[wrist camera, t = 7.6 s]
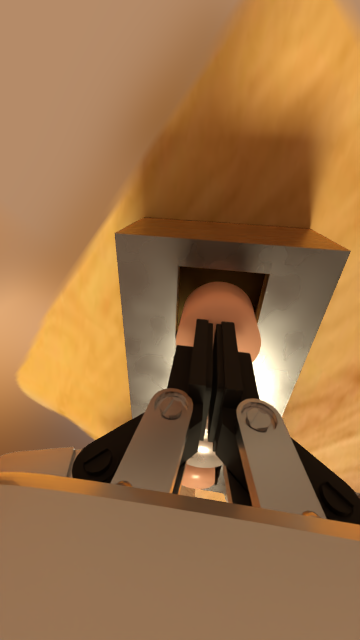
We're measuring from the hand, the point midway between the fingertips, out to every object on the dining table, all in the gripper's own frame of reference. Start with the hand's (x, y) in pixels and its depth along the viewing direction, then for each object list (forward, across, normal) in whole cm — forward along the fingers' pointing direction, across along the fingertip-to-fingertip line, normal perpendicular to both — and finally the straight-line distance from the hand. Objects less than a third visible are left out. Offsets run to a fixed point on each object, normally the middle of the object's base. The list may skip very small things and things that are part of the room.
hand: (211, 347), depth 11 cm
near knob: (+3, 0, 0) cm, 3 cm away
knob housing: (+10, 0, +9) cm, 13 cm away
